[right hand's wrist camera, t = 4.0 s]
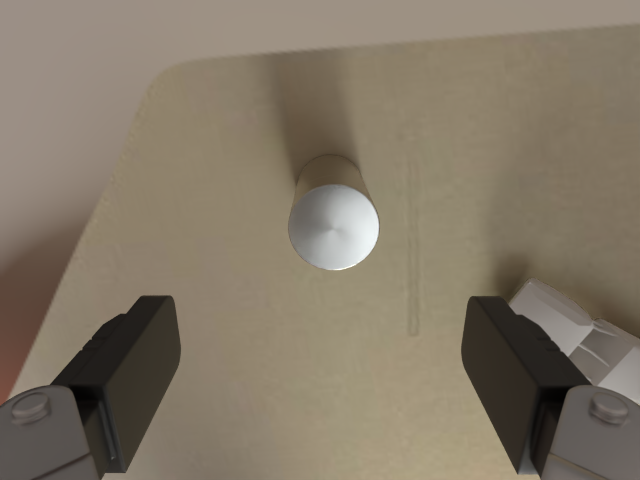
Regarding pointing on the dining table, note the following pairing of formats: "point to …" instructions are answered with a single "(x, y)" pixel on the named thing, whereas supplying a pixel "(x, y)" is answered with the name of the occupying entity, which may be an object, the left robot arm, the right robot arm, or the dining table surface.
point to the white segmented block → (583, 338)
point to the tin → (332, 215)
